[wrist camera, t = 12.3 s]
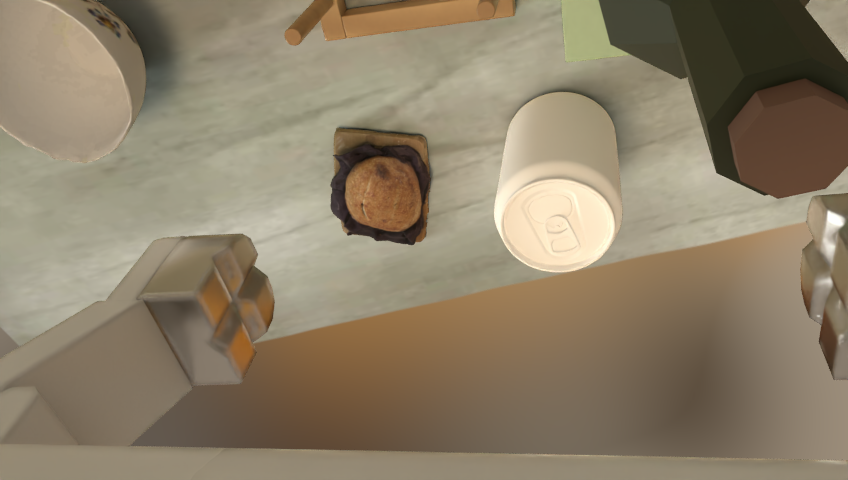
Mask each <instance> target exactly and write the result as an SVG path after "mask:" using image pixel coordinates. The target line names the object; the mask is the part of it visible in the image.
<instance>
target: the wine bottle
mask: <svg viewBox="0 0 848 480" xmlns="http://www.w3.org/2000/svg"><path fill="white" fill-rule="evenodd" d="M809 1H810V0H599V4H600V8H601V11H602V15H603V19H604V23H605V26H606V30H607V34H608V38H609V41H610V45H612V46H614V47H616V48H618V49H620V50H622V51H624V52H626V53H629V54H631V55H633V56H635V57H637V58H639V59H641V60H643V61H645V62H647V63H649V64H651V65H653V66H655V67H657V68H659V69H661V70H663V71H666V72H668V73H670V74H672V75H674V76H676V77H678V78H680V79H682V78H686V77H688V80H689V84H690V87H691V90H692V94H693V97H694V100H695V103H696V107H697V110H698V113H699V117H700V120H701V123H702V127H703V130H704V133H705V136H706V140H707V143H708V146H709V150H710V153H711V156H712V160H713V163H714V166H715V169H716V173H718V174H720V175H722V176H724V177H726V178H728V179H730V180H733V181H735V182H737V183H739V184H741V185H743V186H745V187H747V188H749V189H752V190H754V191H756V192H758V193H760V194H762V195H764V196H765V195H771V196H773V197H775V198H778V199H779V198H784V197H789V196H793V195H798V194H803V193H807V192H812V191H817V190H821V189H826V188H827V187H828V186H829V185H830V184H831V183H832V182H833V181H834V180H835V179H836V178H837V177H838V176H839V175H840V174H841V173H842V171H843V170H844V169H845V168H846V167H847V166H848V62H847V61H846V59H845V58H844V57H843V56H842V54H841V53H840V52H839V50H838V49H837V48H836V47H835V45H834V44H833V43H832V42H831V40H830V39H829V38H828V36H827V35H826V34H825V33H824V31H823V30H822V29H821V28H820V26H819V25H818V24H817V22H816V21H815V20H814V19H813V17H812V16H811V15H810V14H809V12H808V11H807V10H806V8H805V6H806V5H807V3H808V2H809Z"/></svg>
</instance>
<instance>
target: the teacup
mask: <svg viewBox="0 0 848 480" xmlns="http://www.w3.org/2000/svg"><path fill="white" fill-rule="evenodd" d="M145 90H146V69H145V63H144V58H143V55H142V52H141V49H140V47H139V44H138V42H137V40H136V39H135V37H134V35H133V34H132V32H131V31H130V29H129V28H128V27H127V25H126V24H125V23H124V22H123V21H122V20H121V19H120V18H119V17H118V16H117V15H116V14H115V13H113V12H112V11H111V10H110V9H108V8H107V7H105V6H104V5H102V4H101V3H99V2H97V1H95V0H0V127H1V128H2V129H3V130H5V131H6V132H7V133H8V134H10V135H11V136H13V137H14V138H16V139H17V140H19V141H20V142H21V143H22V144H24V145H26V146H29V147H32V148H35V149H36V150H38V151H41V152H43V153H45V154H47V155H49V156H51V157H52V158H54V159H59V160H70V161H72V162H82V163H87V162H90V161H95V160H98V159H100V158H102V157H104V156H105V155H107V154H109V153H111V152H112V151H114V150H115V149H116V148H117V147H118V146H119V145H120V144H121V142H122V141H123V140H124V139H125V137H126V135H127V134H128V132H129V131H130V129H131V127H132V126H133V124H134V122H135V120H136V118H137V116H138V114H139V112H140V109H141V107H142V104H143V100H144V96H145Z"/></svg>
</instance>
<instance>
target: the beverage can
mask: <svg viewBox="0 0 848 480" xmlns="http://www.w3.org/2000/svg"><path fill="white" fill-rule="evenodd" d="M622 215H623V210H622V198H621V187H620V175H619V164H618V153H617V142H616V132H615V128H614V125H613V122H612V120H611V118H610V116H609V115H608V113H607V112H606V111H605V110H604V109H603V108H602V107H601V106H600V105H599V104H598V103H596V102H595V101H593V100H591V99H590V98H588V97H585V96H583V95H580V94H576V93H570V92H555V93H549V94H545V95H542V96H539V97H537V98H535V99H533V100H531V101H530V102H528V103H527V104H525V105H524V106H523V107H522V108H521V109H520V110H519V111H518V112H517V113H516V115H515V116H514V117H513V119H512V121H511V123H510V125H509V128H508V132H507V137H506V143H505V149H504V154H503V160H502V166H501V171H500V177H499V183H498V189H497V194H496V200H495V206H494V217H495V223H496V226H497V229H498V232H499V234H500V236H501V237H502V239H503V241H504V243H505V245H506V247H507V248H508V250H509V251H510V252H511V253H512V254H513V255H514V256H515V257H516V258H517V259H518V260H520V261H521V262H523V263H525V264H526V265H528V266H531V267H533V268H536V269H539V270H543V271H548V272H568V271H574V270H578V269H581V268H583V267H586V266H588V265H590V264H592V263H593V262H595V261H596V260H598V259H599V258H600V257H601V256H602V255H603V254H604V253H605V252H606V251H607V250H608V248H609V247H610V245H611V243H612V242H613V240H614V239H615V237H616V235H617V234H618V231H619V229H620V226H621V222H622Z"/></svg>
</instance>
